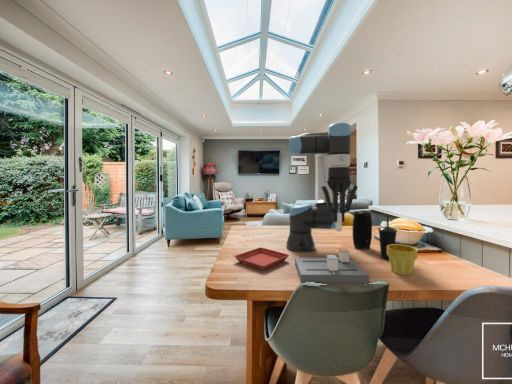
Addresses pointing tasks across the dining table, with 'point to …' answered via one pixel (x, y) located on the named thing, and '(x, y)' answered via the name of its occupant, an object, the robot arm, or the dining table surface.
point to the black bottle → (386, 239)
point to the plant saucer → (261, 258)
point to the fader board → (320, 273)
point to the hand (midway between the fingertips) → (338, 230)
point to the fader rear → (343, 254)
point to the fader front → (332, 263)
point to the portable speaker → (362, 229)
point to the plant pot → (402, 258)
